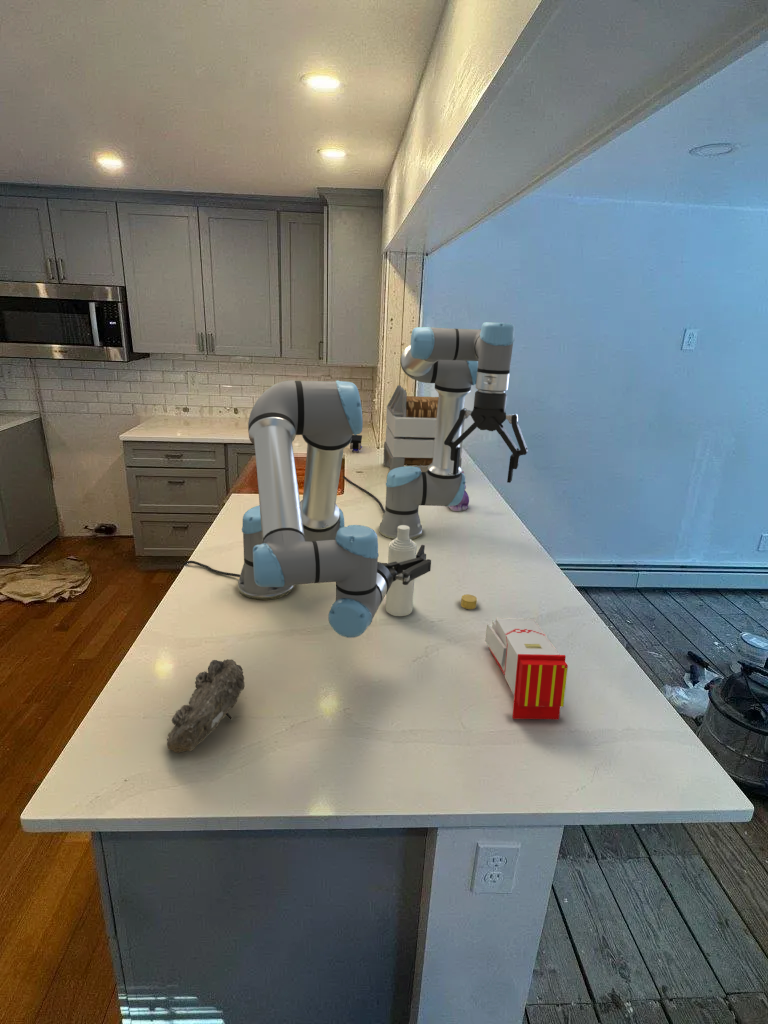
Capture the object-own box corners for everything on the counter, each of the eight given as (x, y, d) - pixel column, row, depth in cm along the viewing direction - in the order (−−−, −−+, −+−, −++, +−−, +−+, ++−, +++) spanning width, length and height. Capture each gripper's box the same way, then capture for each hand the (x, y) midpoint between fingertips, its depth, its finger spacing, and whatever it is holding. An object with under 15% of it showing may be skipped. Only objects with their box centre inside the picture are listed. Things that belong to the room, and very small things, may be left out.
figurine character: (361, 456, 307) (362, 446, 320) (362, 442, 303) (362, 433, 317) (349, 455, 306) (350, 446, 320) (349, 442, 303) (350, 433, 316)
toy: (531, 603, 136) (576, 661, 106) (526, 655, 139) (569, 725, 109) (481, 602, 135) (512, 660, 106) (477, 654, 138) (507, 724, 109)
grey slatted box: (382, 463, 289) (386, 382, 275) (445, 464, 293) (451, 384, 279) (390, 482, 257) (394, 392, 243) (460, 483, 261) (468, 394, 247)
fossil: (192, 660, 117) (244, 628, 112) (224, 691, 120) (276, 661, 115) (142, 746, 98) (202, 712, 93) (182, 779, 101) (242, 748, 96)
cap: (457, 604, 154) (458, 596, 153) (468, 600, 156) (469, 592, 155) (468, 610, 151) (469, 603, 150) (479, 606, 153) (480, 599, 152)
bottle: (397, 600, 154) (401, 520, 147) (417, 609, 150) (423, 527, 142) (380, 609, 149) (383, 526, 141) (400, 619, 145) (405, 534, 137)
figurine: (455, 513, 222) (459, 476, 217) (441, 505, 231) (444, 469, 226) (475, 510, 226) (479, 474, 221) (460, 502, 235) (464, 467, 230)
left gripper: (312, 592, 119) (344, 553, 138) (429, 611, 113) (445, 568, 133) (312, 559, 116) (344, 524, 136) (431, 577, 111) (448, 538, 130)
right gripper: (436, 388, 135) (429, 474, 142) (543, 398, 127) (531, 488, 134) (444, 384, 141) (438, 467, 149) (547, 394, 133) (535, 480, 140)
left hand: (394, 546), depth 134 cm, fingers open, 13 cm apart
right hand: (482, 477), depth 141 cm, fingers open, 13 cm apart
